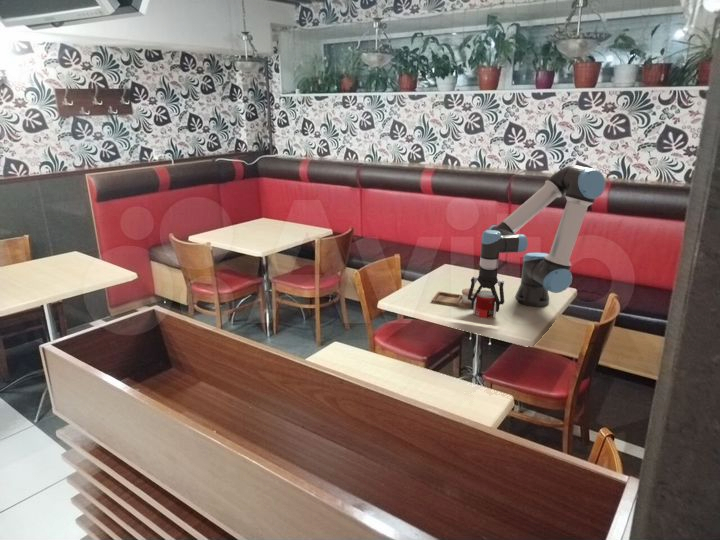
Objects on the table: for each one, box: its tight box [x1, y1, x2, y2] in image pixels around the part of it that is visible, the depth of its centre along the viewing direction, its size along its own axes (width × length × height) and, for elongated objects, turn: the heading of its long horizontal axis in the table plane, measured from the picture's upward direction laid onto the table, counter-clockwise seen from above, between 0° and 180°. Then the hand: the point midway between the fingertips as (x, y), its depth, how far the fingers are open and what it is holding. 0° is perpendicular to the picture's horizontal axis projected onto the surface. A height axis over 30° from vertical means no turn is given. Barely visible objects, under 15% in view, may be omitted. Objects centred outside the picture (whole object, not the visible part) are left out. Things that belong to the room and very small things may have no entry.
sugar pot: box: [461, 287, 478, 305], centre depth 244 cm, size 8×8×7 cm
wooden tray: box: [431, 291, 474, 310], centre depth 248 cm, size 22×12×2 cm, turn 67°
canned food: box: [474, 290, 496, 319], centre depth 232 cm, size 8×8×11 cm
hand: (484, 316), depth 233 cm, fingers closed on canned food, 8 cm apart
